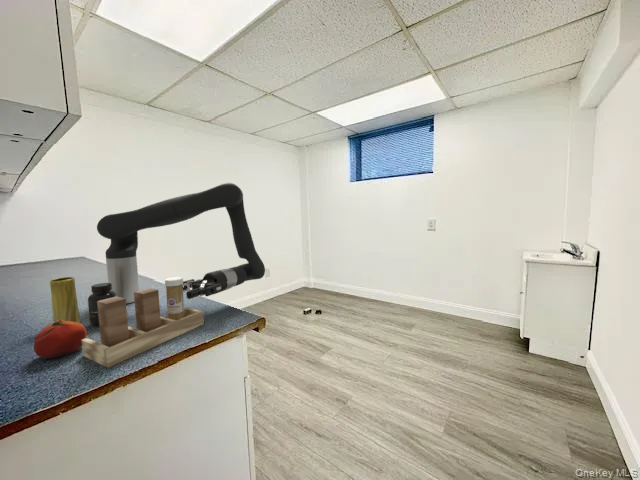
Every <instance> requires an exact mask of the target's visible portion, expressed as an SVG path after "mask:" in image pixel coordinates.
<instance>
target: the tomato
mask: <svg viewBox="0 0 640 480" xmlns="http://www.w3.org/2000/svg"><path fill="white" fill-rule="evenodd" d="M87 334H88V332H87V329H86V327H85V325H83V324H82V323H76V322H71V321H63V320H57V321H55V322H52V323H49V324H48V325H46V326H45V327H44V328H43V329H42V330H41V331H39V332H38V333H37V335H36V336H35V338H34V341H33V351H34V353H35V355H36V356H38V357H40V358H47V359H48V358H50V359H54V358H57V357H60V356H63V355H67V354H71V353H74V352H76V351H78V350H79V349H80V348H82V341H81V340H82V339H85V338H87Z"/></svg>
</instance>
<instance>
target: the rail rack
mask: <svg viewBox="0 0 640 480" xmlns="http://www.w3.org/2000/svg"><path fill="white" fill-rule="evenodd" d="M159 295H160V294H159V289H158V288H157V289H156V288H151V287H148V288H145V289H139V291H136V292H134V301H135V302H134V311H135V313H134V314H135V322H136V323H135V324H136V325H135V326H136V328H134V327H131V326H129V323H128V322H129V321H128V311H127V304H126V299H125V298H121V297H117V296H116V297H112V298H108V299H104V300H100V301H97V305H98V315H99V325H100V326H99V336H100V342H98V341H95V340H93V339H90V338H87V337H86V338H85V339H82V340H81V341H82V346H81V348H82V349H81V350H82V356H83V357H85V358H87V359H88V360H91V361H93V362H95V363H97V364H99V365H101V366H104V367H106V368H111V367H113V366H115V365H117V364H119V363H122V362H123V361H126V360H128V359H130V358H133V357H135V356H137V355H139V354H141V353H144V352H147V351H148V350H150V349H152V348H154V347H156V346H159V345H161V344H163V343H165V342H168V341H170V340H171V339H174V338H176V337H178V336H181V335H182V334H185V333H188V332H190V331H192V330H194V329H196V328H198V327H200V326H203V325H204V324H205V319H204V318H205V316H204V311H203V310H199V309H196V308H191V307H186V306H184V318H181V319H179V320H173V319H169V318H168V317H165V316H162V315H161V309H160V308H161V306H160V296H159Z"/></svg>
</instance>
